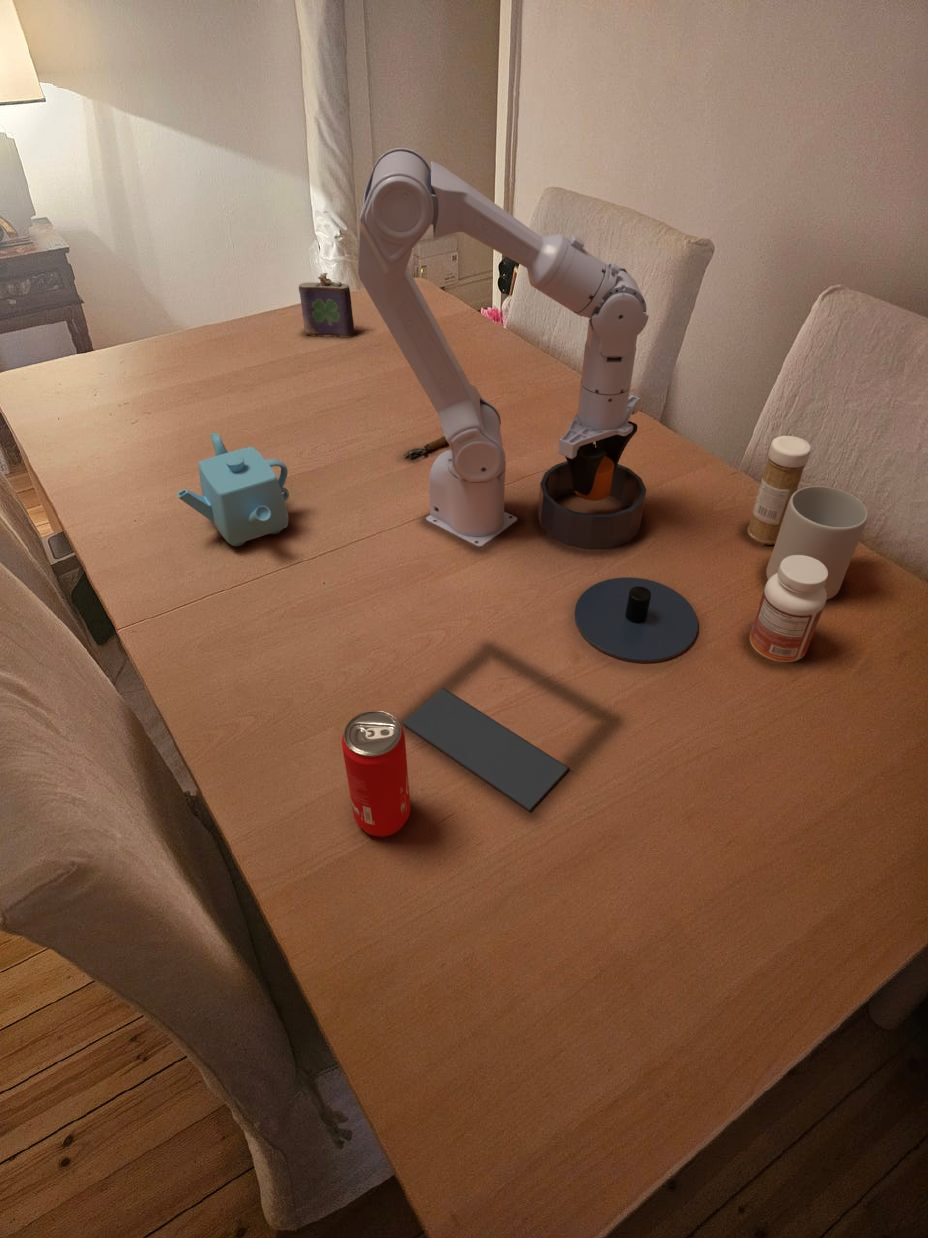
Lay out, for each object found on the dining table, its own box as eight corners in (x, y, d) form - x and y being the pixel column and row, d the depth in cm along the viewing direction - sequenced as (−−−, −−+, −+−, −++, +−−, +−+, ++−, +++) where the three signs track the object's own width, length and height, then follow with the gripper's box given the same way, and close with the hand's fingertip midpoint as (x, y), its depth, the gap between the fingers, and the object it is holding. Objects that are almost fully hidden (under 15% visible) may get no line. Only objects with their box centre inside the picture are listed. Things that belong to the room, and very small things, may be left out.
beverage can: (354, 794, 77) (341, 710, 69) (410, 790, 77) (403, 706, 69) (353, 843, 73) (339, 760, 65) (412, 838, 73) (405, 755, 65)
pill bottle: (779, 620, 94) (806, 543, 86) (818, 654, 90) (850, 577, 82) (736, 636, 92) (760, 559, 84) (773, 672, 88) (802, 595, 80)
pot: (518, 525, 108) (520, 489, 104) (575, 482, 115) (579, 447, 111) (603, 566, 101) (608, 530, 98) (658, 517, 109) (665, 482, 105)
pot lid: (550, 628, 93) (552, 598, 90) (615, 569, 101) (620, 539, 98) (656, 686, 87) (663, 655, 83) (718, 618, 94) (726, 588, 91)
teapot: (320, 545, 104) (310, 478, 98) (213, 582, 99) (194, 514, 92) (269, 478, 116) (256, 413, 109) (170, 508, 111) (151, 442, 104)
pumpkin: (566, 491, 105) (570, 456, 101) (587, 476, 107) (591, 441, 104) (597, 504, 102) (602, 469, 99) (617, 489, 105) (622, 453, 101)
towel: (402, 725, 83) (402, 722, 83) (489, 649, 91) (489, 647, 90) (529, 812, 75) (529, 809, 75) (612, 721, 83) (613, 719, 83)
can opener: (452, 437, 123) (452, 430, 123) (461, 444, 122) (461, 437, 121) (400, 455, 120) (400, 448, 119) (408, 462, 118) (408, 455, 118)
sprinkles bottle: (789, 538, 105) (820, 446, 96) (765, 550, 103) (794, 458, 94) (762, 520, 108) (789, 430, 99) (738, 532, 106) (763, 440, 97)
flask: (303, 335, 150) (295, 276, 143) (307, 329, 152) (299, 269, 145) (353, 338, 149) (347, 278, 142) (356, 331, 152) (351, 272, 144)
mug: (807, 614, 95) (836, 538, 87) (750, 575, 100) (773, 500, 92) (872, 577, 100) (905, 502, 92) (814, 541, 105) (841, 467, 97)
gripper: (600, 418, 89) (587, 520, 98) (667, 371, 97) (650, 470, 106) (547, 398, 92) (539, 498, 101) (617, 354, 100) (603, 451, 109)
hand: (592, 482), depth 104 cm, fingers closed on pumpkin, 4 cm apart
